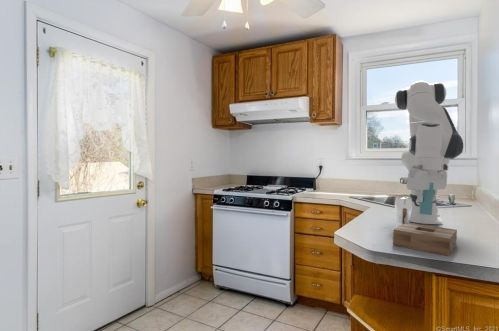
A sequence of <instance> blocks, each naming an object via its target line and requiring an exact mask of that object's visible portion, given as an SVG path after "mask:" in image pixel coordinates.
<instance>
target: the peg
mask: <svg viewBox="0 0 499 331" xmlns="http://www.w3.org/2000/svg"><path fill="white" fill-rule="evenodd" d="M422 195H423V197H424V202H420V212H419V213H420V214H426V215H432V203H433V183H430V188H429V190H423V193H422Z"/></svg>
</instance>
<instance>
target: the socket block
mask: <svg viewBox="0 0 499 331" xmlns="http://www.w3.org/2000/svg"><path fill="white" fill-rule="evenodd" d="M392 233H393V234H392V236H393V237H392V238H393V239H392V245H393V246H395V245H396V246H397V247H401V248H407V249H412V250H415V251H416V250H417V251H421V252H426V253H432V254H436V255H442V256H447V257H450V255H451V254H452V252H453V251H454V249H455V248H456V246H457V238H458V236H457V234H458V229H454V228H447V227H442V226H441V227H440V226H434V225H429V224H422V223H415V222H409V223H407V222H406V223H404V224H402V225H400V226H399V227H397V228H394V229H393V232H392ZM396 246H395V247H396Z"/></svg>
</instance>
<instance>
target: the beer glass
mask: <svg viewBox="0 0 499 331" xmlns="http://www.w3.org/2000/svg"><path fill="white" fill-rule="evenodd" d="M411 212H412V198H410V197H407V196H406V197H405V196H396V197H395V202H394V214H395V220H396V221H395V222H396V223H395V228H397V227H399V226H400V225H402V224H404V223H406V222H407V223H410V216H411ZM395 228H394V229H395Z"/></svg>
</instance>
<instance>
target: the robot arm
mask: <svg viewBox="0 0 499 331" xmlns="http://www.w3.org/2000/svg"><path fill="white" fill-rule="evenodd" d="M446 97H447V88H446V87H445V86H444V84H443V83H442V82H433V83H429V82H427V81H425V80H418V81H415V82H414V83H413V82H412V83H411V85H410V86H409V87H406V88H402V89H400V90H398V91H396V94H395V98H394V103H395V105H396V107H397V108H398V109H399V110H402V111H404V110H407V111H408V113H409V114H408V116H409V118H408V120H409V121H408V122H409V135H410V138H409V149H406V150H404V151H403V152H402V154H401V163H402V164H403V165H404V167H406V169H407V170H408V173H407V179H406V188H407V190H409V191H410V193H409V198H412V212H411V216H410V221H409V223H414V224H421V225H443V221H442V220H443V219H442V218H441V217H440V214H439V207H438V205H437V204H436V202H437V197H436V196H437V193H438V190H446V187H447V182H448V172H447V171H448V170H449V165H448V164H450V160H454V159H455V158H457V157H459V156H460V155H461V154H462V153H463V150H464V142H463V138H462V137H461V135H460V134H459V132H458V131H457V128H456V127H455V124H454V122H453V120H452V118H451V116H450V114H449V112H448V110H447V109H446V107H444V106H442V105H441V104H443V103H444V101H445V100H446ZM430 183H433V203H432V215H426V214H420V213H419V212H420V202H424V197H423V195H422V193H423V190H429V188H430Z"/></svg>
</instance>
